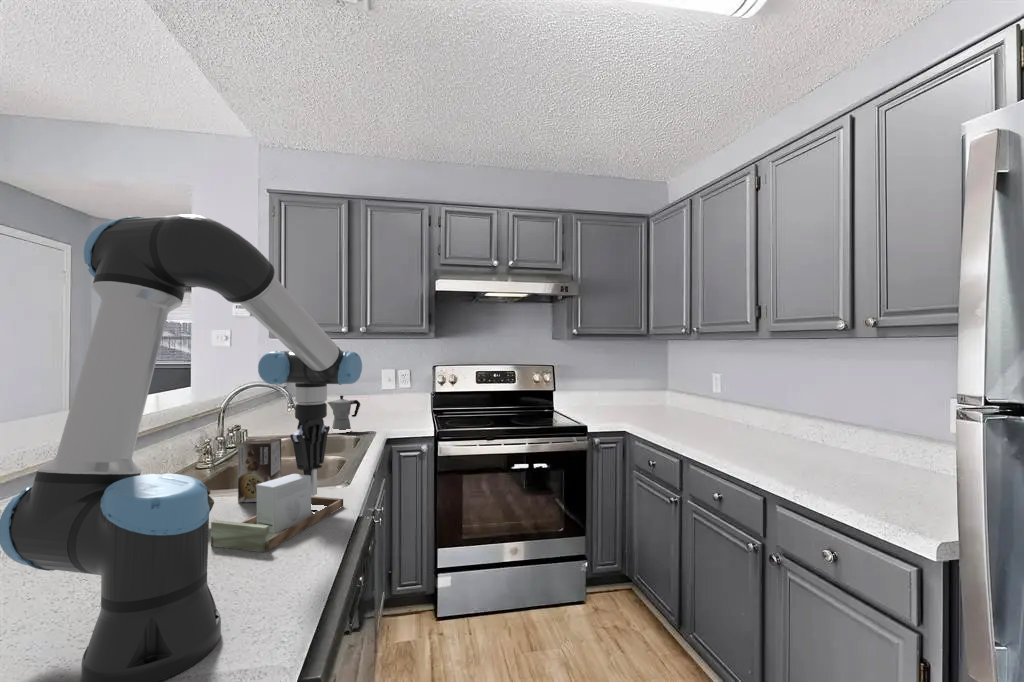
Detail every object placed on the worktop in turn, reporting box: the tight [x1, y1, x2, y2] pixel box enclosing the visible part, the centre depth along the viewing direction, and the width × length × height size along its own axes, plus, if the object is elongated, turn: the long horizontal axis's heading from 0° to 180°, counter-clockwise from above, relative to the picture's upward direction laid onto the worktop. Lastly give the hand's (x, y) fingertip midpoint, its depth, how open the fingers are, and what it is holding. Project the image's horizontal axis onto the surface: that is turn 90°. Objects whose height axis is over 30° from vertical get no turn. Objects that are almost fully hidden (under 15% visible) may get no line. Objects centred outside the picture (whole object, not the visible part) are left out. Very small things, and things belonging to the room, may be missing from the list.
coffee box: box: [237, 438, 282, 503], centre depth 128 cm, size 9×6×16 cm
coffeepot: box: [327, 395, 361, 430], centre depth 229 cm, size 15×9×18 cm, turn 100°
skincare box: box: [256, 473, 312, 533], centre depth 110 cm, size 10×6×10 cm, turn 155°
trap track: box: [210, 495, 344, 553], centre depth 110 cm, size 28×13×5 cm, turn 167°
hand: (310, 494), depth 120 cm, fingers closed
